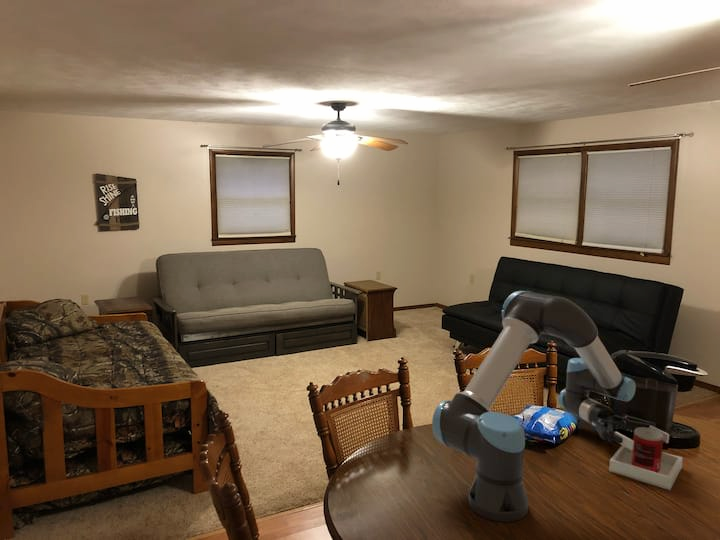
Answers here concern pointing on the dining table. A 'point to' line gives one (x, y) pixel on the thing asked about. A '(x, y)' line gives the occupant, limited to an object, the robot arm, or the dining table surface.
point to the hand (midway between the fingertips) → (650, 442)
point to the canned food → (647, 449)
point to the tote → (663, 478)
